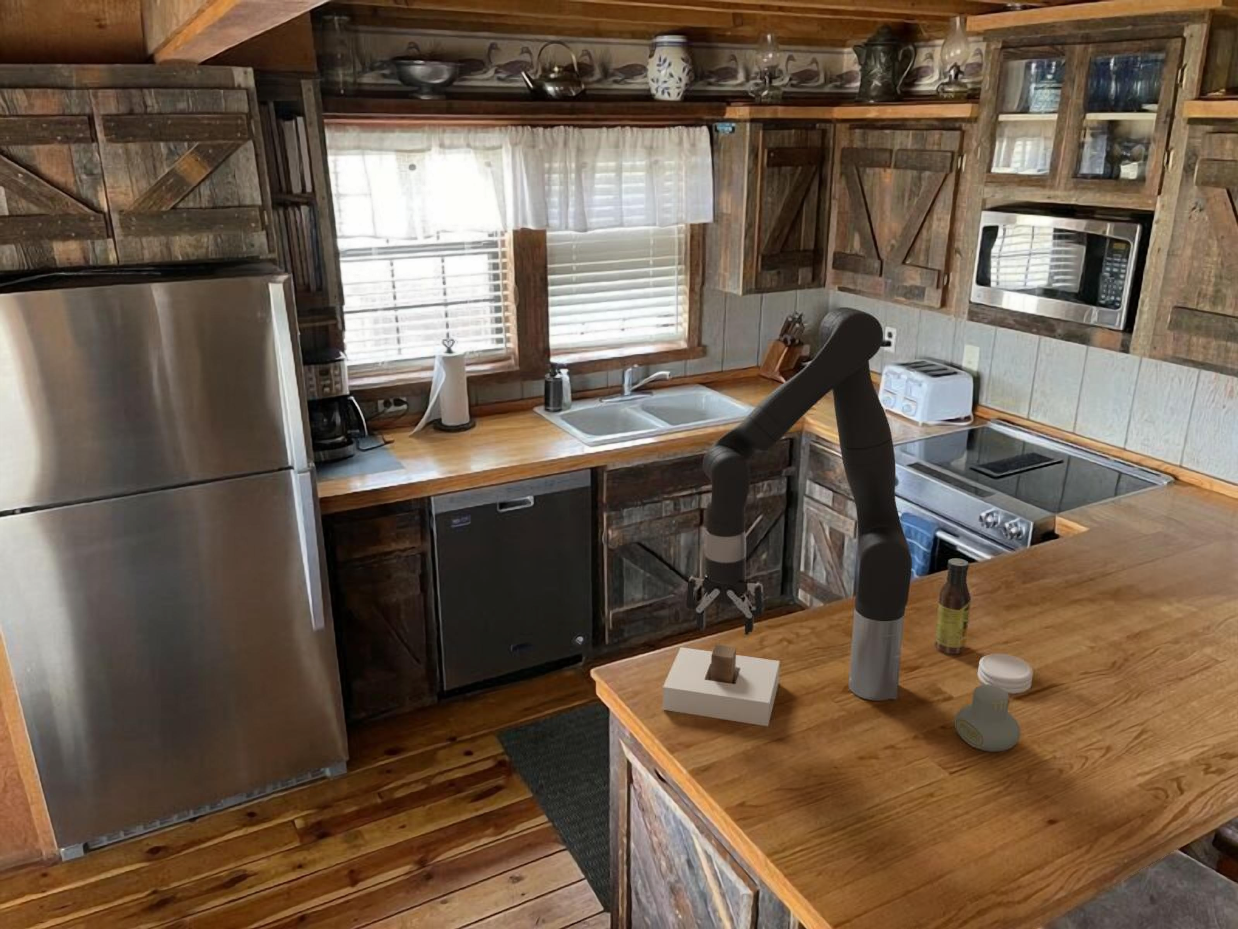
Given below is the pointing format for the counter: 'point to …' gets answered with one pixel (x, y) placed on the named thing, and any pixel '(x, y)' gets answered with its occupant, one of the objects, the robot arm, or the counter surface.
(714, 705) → the socket board
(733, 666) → the peg
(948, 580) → the sauce bottle
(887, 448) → the robot arm
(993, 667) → the coaster
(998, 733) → the air freshener
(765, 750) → the counter surface
